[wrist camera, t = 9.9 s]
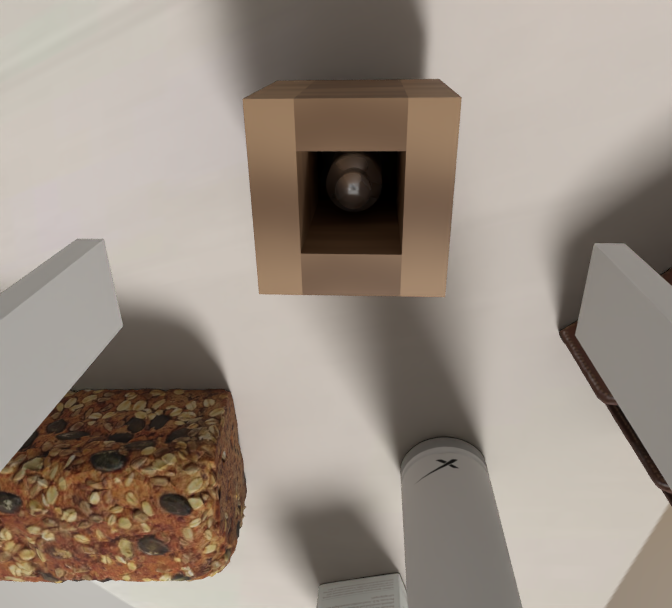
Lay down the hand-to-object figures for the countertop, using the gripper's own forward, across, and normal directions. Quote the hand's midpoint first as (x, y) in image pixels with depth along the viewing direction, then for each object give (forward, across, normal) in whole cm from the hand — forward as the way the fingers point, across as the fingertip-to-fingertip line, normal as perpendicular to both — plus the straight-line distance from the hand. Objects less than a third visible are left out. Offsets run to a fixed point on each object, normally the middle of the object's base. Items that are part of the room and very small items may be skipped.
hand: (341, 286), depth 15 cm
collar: (+16, 0, 0) cm, 16 cm away
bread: (+18, -18, -21) cm, 33 cm away
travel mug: (+18, +6, -23) cm, 30 cm away
